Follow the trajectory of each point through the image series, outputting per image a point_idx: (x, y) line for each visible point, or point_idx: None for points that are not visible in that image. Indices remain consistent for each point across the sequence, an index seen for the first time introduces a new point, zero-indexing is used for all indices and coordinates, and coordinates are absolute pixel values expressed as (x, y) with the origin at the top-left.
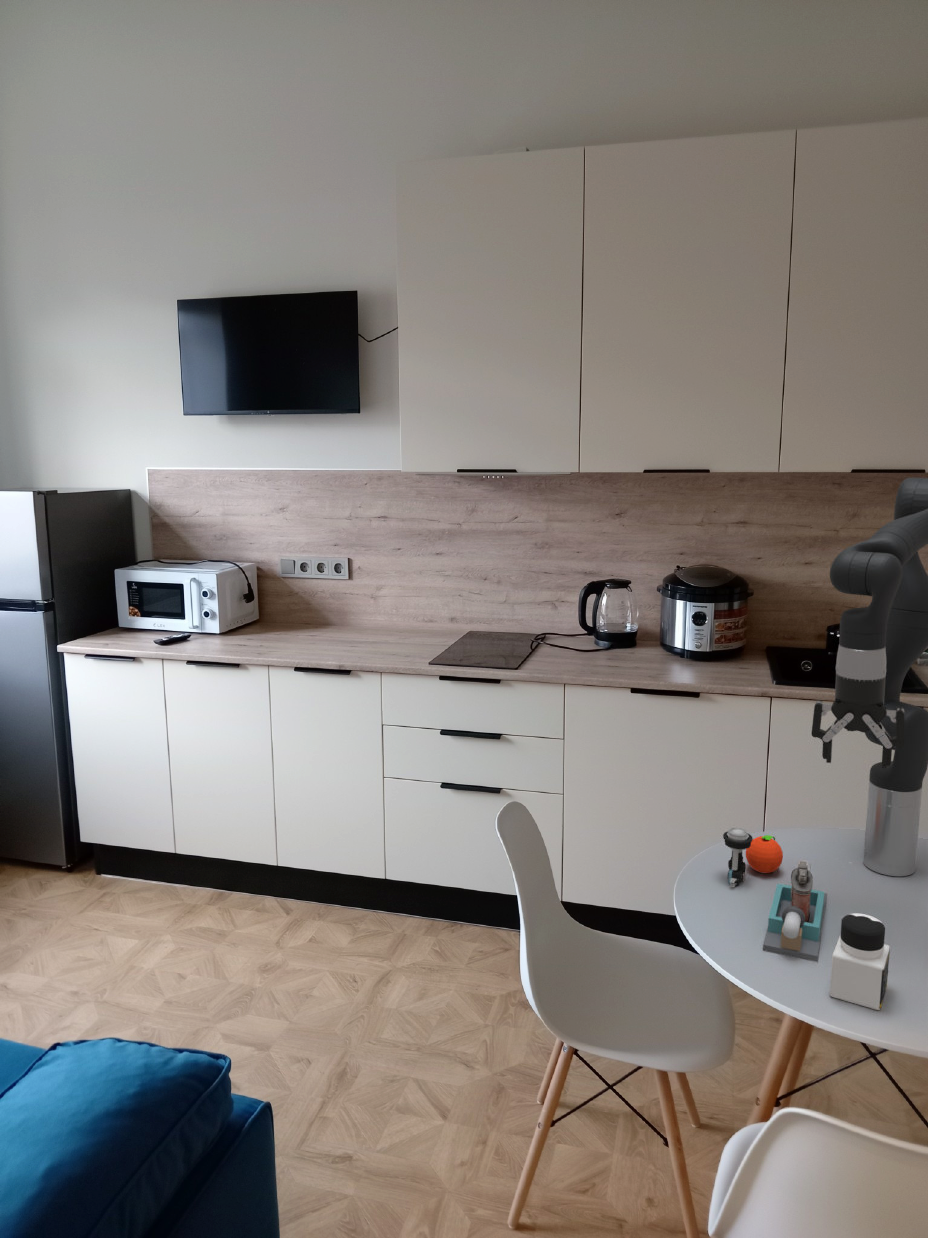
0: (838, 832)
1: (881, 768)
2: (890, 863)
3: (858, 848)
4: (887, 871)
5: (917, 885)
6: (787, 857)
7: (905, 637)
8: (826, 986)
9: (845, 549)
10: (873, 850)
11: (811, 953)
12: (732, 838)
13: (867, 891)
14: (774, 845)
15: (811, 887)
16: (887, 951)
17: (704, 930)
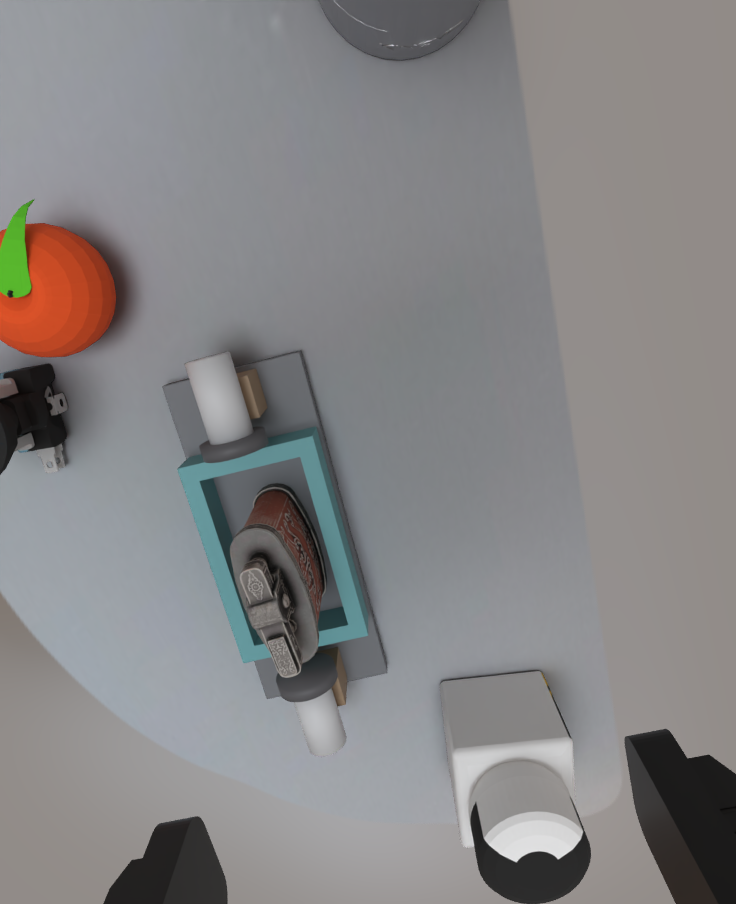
0: None
1: (637, 815)
2: (426, 39)
3: None
4: (415, 52)
5: (515, 66)
6: (87, 130)
7: None
8: (432, 735)
9: None
10: (359, 18)
11: (372, 670)
12: None
13: (388, 222)
14: (62, 302)
15: (314, 617)
16: (572, 768)
17: (121, 689)
